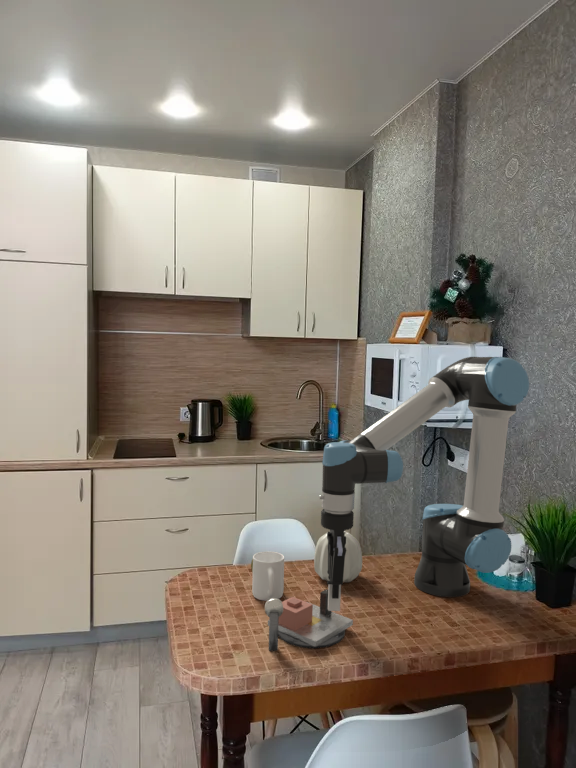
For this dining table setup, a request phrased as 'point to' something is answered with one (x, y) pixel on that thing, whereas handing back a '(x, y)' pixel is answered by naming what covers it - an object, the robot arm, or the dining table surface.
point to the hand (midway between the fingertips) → (333, 609)
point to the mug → (268, 575)
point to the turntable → (319, 624)
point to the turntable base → (302, 644)
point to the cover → (296, 613)
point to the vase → (351, 558)
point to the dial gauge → (273, 621)
